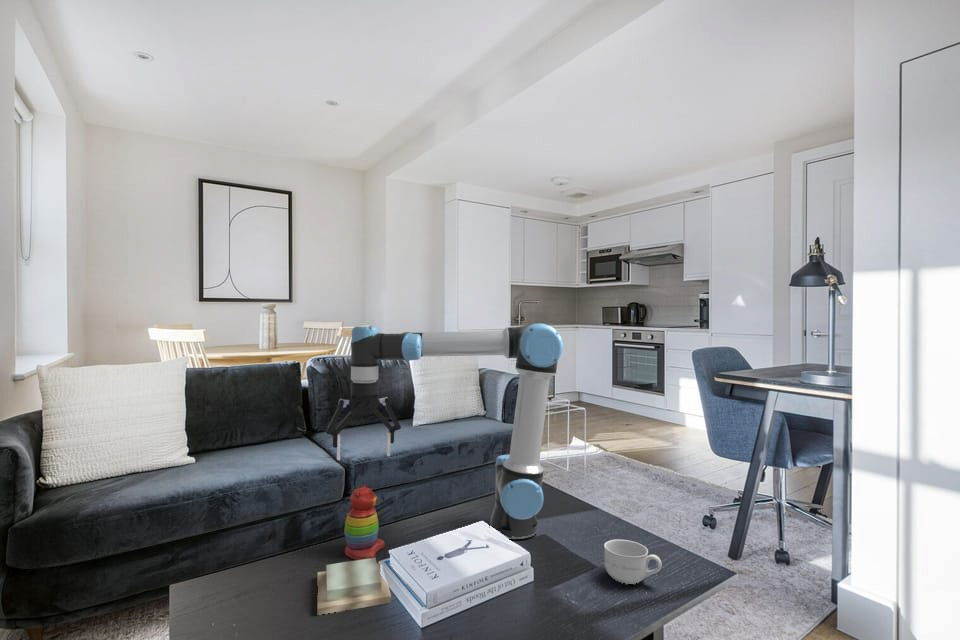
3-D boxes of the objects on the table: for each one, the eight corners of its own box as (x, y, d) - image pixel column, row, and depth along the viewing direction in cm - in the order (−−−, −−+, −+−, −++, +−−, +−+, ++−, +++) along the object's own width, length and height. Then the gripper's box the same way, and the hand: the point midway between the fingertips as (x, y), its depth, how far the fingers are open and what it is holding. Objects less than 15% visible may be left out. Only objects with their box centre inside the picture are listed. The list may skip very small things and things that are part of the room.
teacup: (596, 578, 120) (596, 546, 120) (616, 563, 128) (616, 533, 128) (649, 600, 111) (650, 566, 111) (667, 582, 119) (668, 550, 119)
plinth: (382, 568, 124) (382, 552, 124) (391, 602, 109) (391, 585, 109) (317, 578, 119) (317, 562, 119) (317, 615, 103) (317, 597, 104)
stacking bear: (371, 562, 127) (372, 496, 127) (336, 558, 129) (337, 493, 129) (387, 544, 137) (387, 483, 137) (354, 540, 139) (355, 480, 139)
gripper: (406, 378, 141) (405, 449, 140) (317, 380, 132) (316, 457, 132) (411, 381, 134) (410, 456, 133) (317, 384, 125) (316, 464, 125)
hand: (363, 457), depth 133 cm, fingers open, 13 cm apart
